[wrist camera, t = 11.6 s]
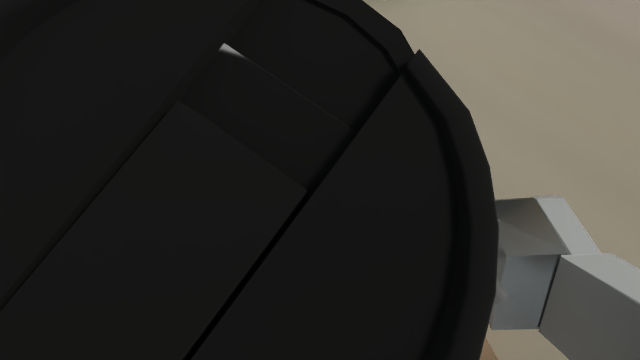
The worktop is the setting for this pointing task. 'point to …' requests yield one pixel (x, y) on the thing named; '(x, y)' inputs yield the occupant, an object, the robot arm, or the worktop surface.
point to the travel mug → (235, 186)
